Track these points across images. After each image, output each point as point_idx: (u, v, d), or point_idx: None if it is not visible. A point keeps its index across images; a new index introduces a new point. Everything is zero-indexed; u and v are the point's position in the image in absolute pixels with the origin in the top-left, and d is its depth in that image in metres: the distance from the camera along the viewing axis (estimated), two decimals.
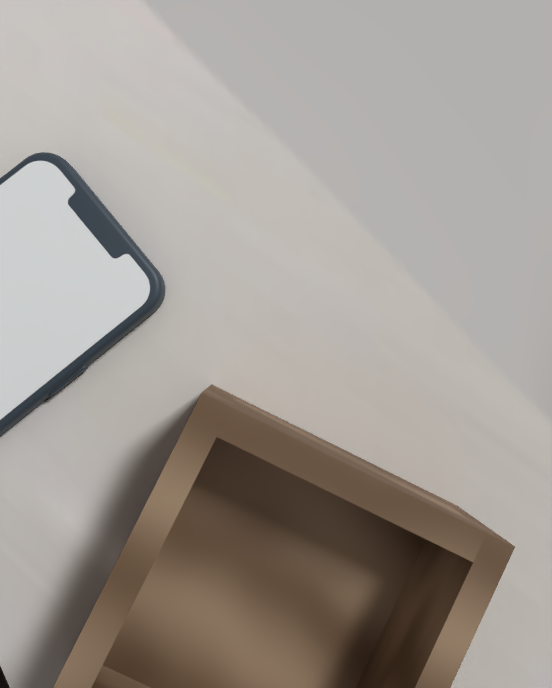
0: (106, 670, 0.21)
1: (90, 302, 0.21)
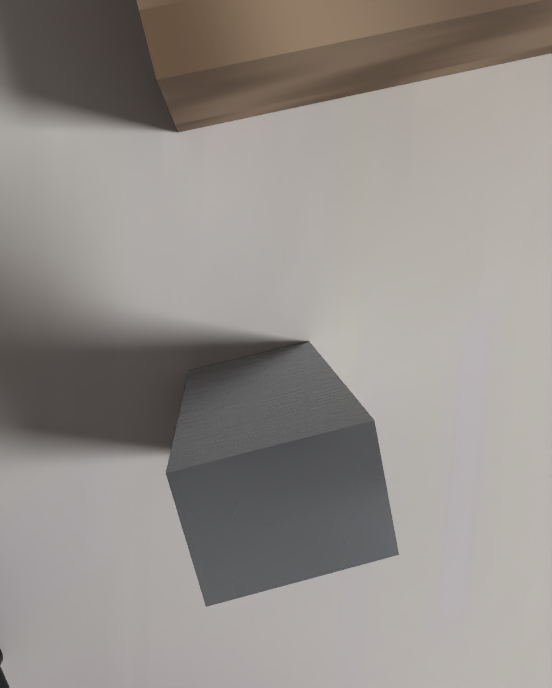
0: None
1: None
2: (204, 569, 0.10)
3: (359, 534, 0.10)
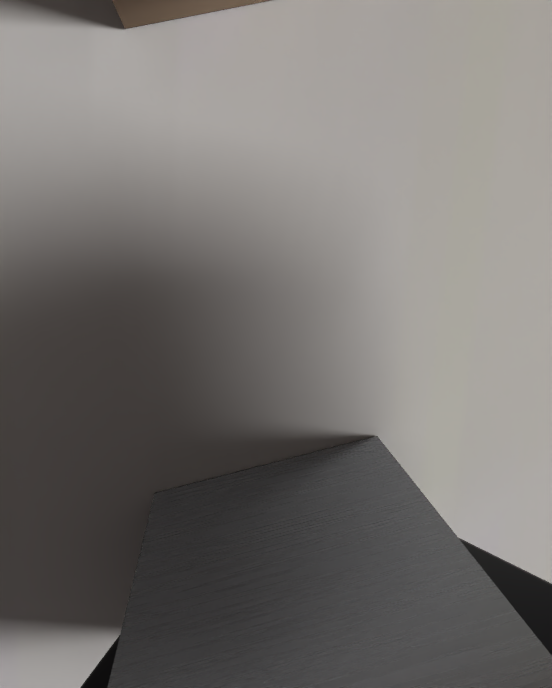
0: None
1: None
2: None
3: None
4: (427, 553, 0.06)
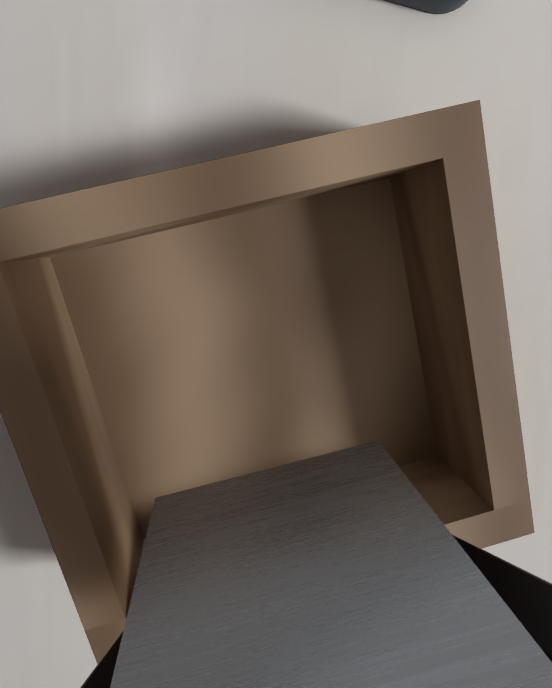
0: (51, 267, 0.16)
1: None
2: None
3: None
4: (429, 560, 0.06)
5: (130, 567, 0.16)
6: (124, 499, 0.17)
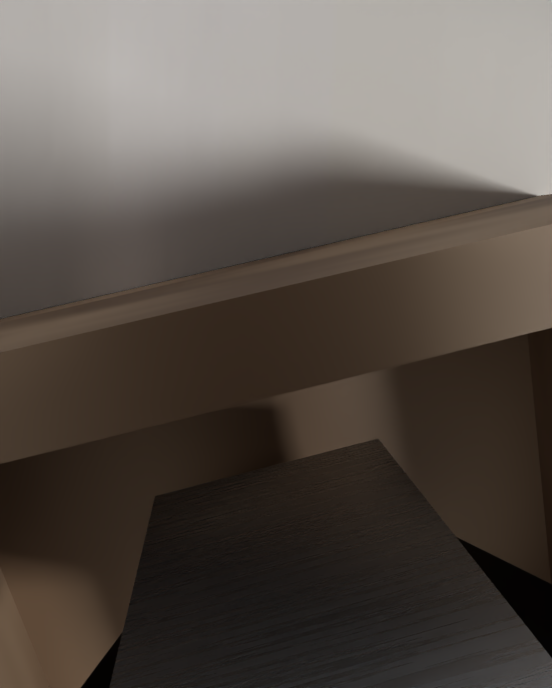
0: None
1: None
2: None
3: None
4: (429, 557, 0.06)
5: None
6: None
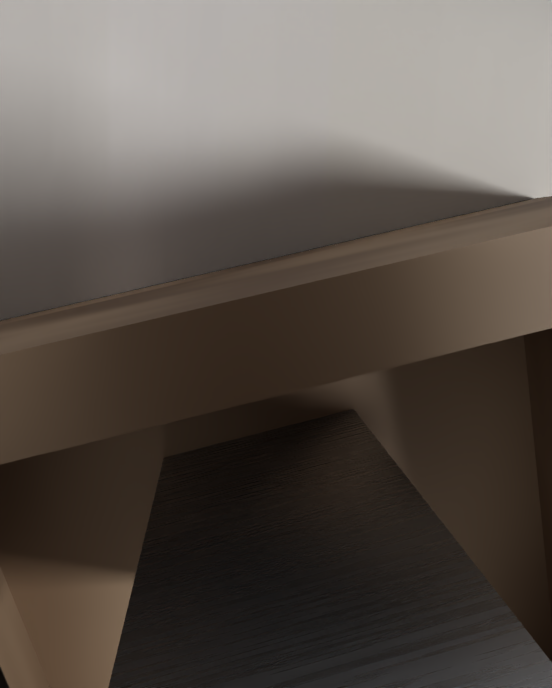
0: None
1: None
2: None
3: None
4: (383, 490, 0.07)
5: None
6: None
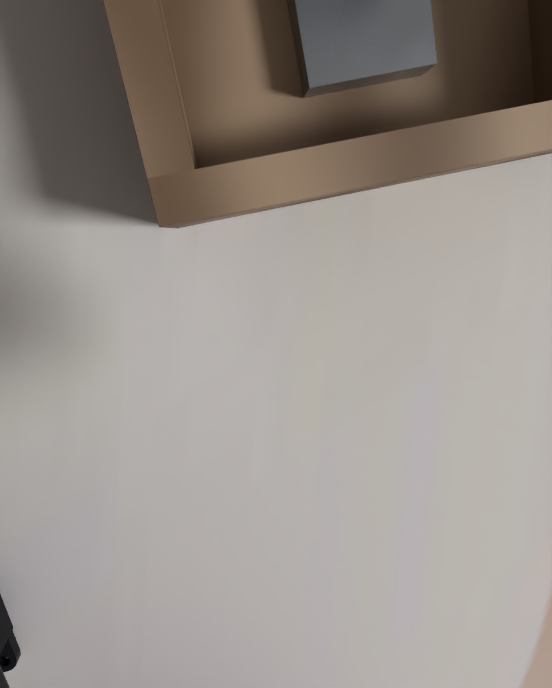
0: None
1: None
2: None
3: None
4: None
5: (194, 160, 0.14)
6: (185, 113, 0.15)
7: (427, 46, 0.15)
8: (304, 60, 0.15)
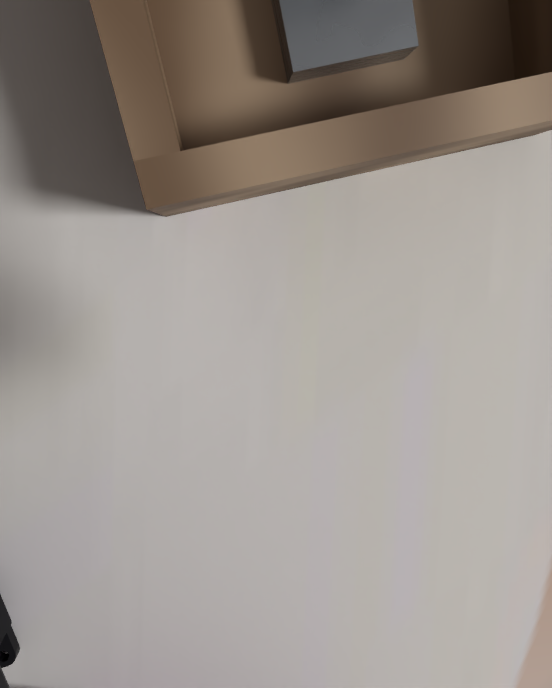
0: None
1: None
2: None
3: None
4: None
5: (180, 144, 0.14)
6: (171, 100, 0.15)
7: (408, 29, 0.15)
8: (287, 45, 0.15)
